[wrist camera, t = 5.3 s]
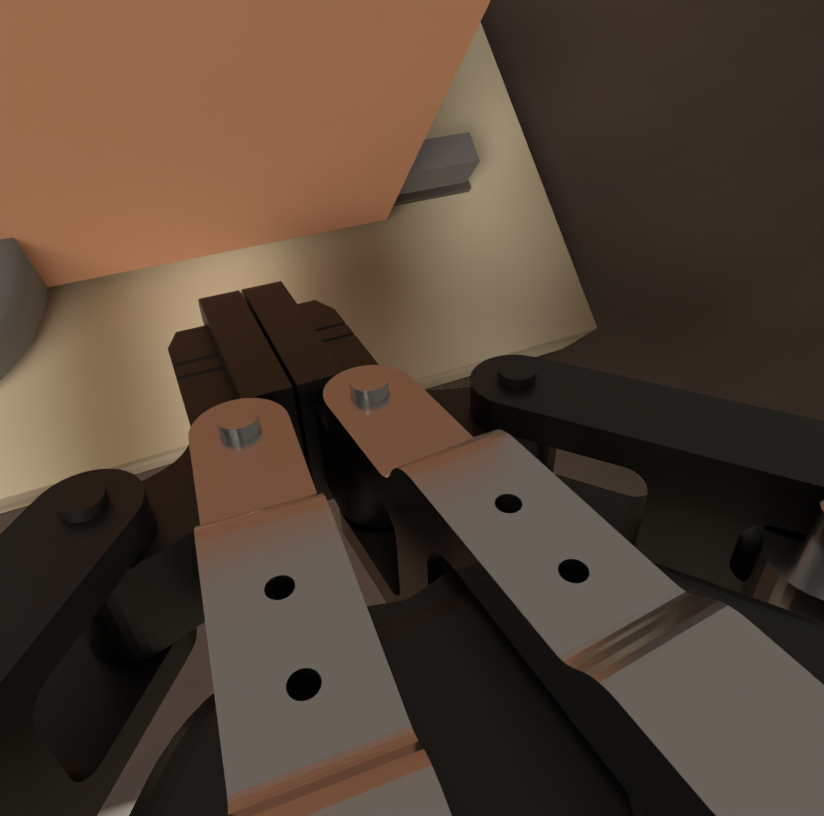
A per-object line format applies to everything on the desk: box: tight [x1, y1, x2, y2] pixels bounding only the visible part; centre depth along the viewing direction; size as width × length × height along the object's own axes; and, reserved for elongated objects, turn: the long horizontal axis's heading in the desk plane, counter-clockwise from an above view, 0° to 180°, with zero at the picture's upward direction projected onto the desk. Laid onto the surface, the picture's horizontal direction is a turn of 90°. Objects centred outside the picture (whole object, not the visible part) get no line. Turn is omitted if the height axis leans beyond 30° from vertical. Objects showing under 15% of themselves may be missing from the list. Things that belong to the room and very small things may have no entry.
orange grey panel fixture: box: [0, 0, 490, 380], centre depth 10 cm, size 19×6×9 cm, turn 109°
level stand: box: [0, 22, 597, 513], centre depth 15 cm, size 24×18×6 cm
